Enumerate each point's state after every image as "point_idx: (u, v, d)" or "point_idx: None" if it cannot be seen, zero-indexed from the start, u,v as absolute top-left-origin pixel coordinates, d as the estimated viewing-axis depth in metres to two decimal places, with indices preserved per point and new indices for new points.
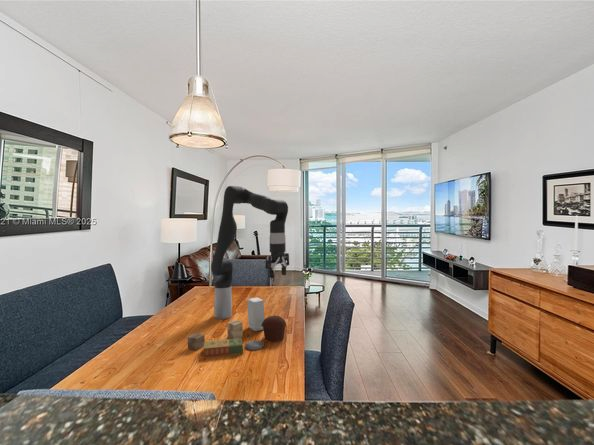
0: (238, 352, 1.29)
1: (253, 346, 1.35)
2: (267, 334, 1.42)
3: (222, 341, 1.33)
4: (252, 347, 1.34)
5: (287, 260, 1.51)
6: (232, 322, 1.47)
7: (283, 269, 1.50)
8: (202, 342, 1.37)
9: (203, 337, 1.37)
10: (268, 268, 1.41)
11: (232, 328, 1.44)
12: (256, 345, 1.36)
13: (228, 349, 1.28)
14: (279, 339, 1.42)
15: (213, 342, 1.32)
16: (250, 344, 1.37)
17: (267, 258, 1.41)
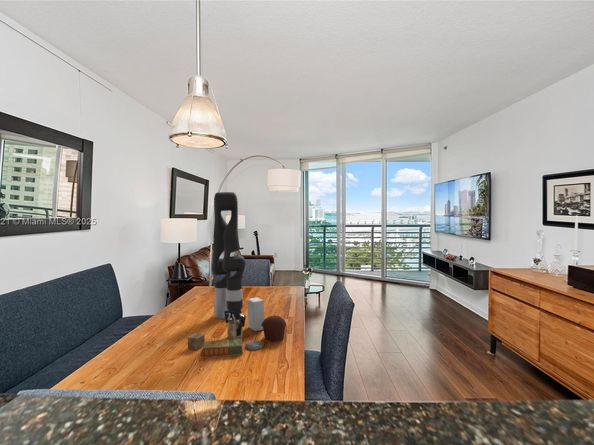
0: (237, 353, 1.29)
1: (253, 346, 1.35)
2: (267, 334, 1.42)
3: (222, 341, 1.33)
4: (252, 347, 1.34)
5: None
6: (232, 322, 1.47)
7: None
8: (202, 342, 1.37)
9: (203, 337, 1.37)
10: (243, 326, 1.44)
11: (232, 328, 1.44)
12: (256, 345, 1.36)
13: (227, 350, 1.28)
14: (279, 339, 1.42)
15: (213, 342, 1.32)
16: (250, 344, 1.37)
17: (243, 318, 1.43)
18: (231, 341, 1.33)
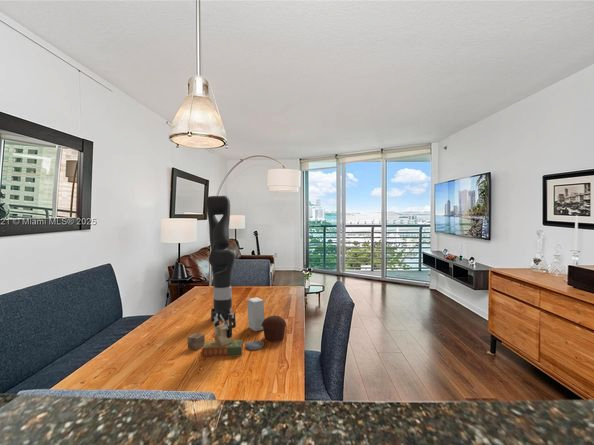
0: (236, 354, 1.28)
1: (253, 346, 1.35)
2: (267, 334, 1.42)
3: None
4: (252, 347, 1.34)
5: None
6: (220, 326, 1.32)
7: None
8: (202, 342, 1.37)
9: (203, 337, 1.37)
10: (234, 327, 1.27)
11: (220, 333, 1.29)
12: (256, 345, 1.36)
13: (226, 350, 1.28)
14: (279, 339, 1.42)
15: (213, 342, 1.32)
16: (250, 344, 1.37)
17: (232, 316, 1.27)
18: None
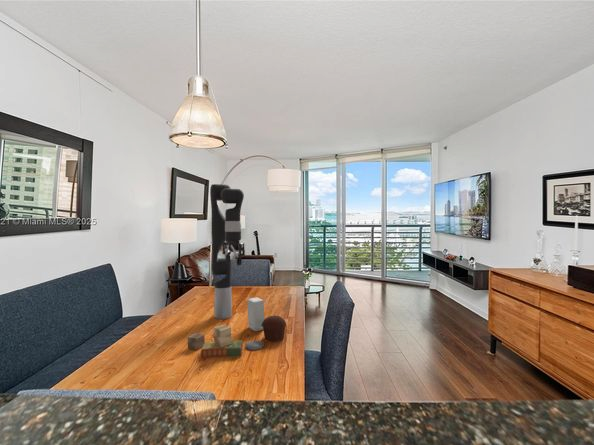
0: (236, 355, 1.27)
1: (253, 346, 1.35)
2: (267, 334, 1.42)
3: None
4: (252, 347, 1.34)
5: None
6: (219, 327, 1.30)
7: (228, 257, 1.53)
8: (202, 342, 1.37)
9: (203, 337, 1.37)
10: (243, 255, 1.46)
11: (219, 334, 1.27)
12: (256, 345, 1.36)
13: (225, 351, 1.27)
14: (279, 339, 1.42)
15: (212, 343, 1.31)
16: (250, 344, 1.37)
17: (242, 245, 1.45)
18: (231, 343, 1.32)
